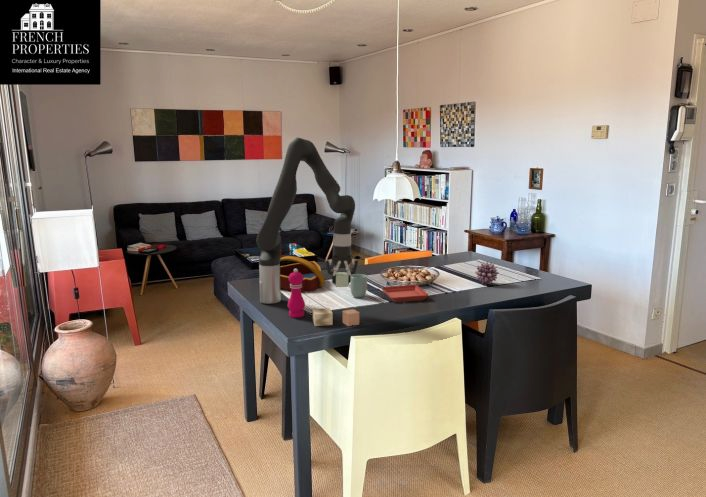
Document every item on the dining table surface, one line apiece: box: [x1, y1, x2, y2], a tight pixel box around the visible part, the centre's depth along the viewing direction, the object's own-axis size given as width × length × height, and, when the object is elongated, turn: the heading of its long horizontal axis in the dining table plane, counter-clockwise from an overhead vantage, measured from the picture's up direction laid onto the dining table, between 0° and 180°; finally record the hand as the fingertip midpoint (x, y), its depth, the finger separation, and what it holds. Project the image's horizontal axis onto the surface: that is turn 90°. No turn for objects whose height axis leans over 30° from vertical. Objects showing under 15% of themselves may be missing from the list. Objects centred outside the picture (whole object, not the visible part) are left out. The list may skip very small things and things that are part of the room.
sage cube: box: [334, 271, 349, 288], centre depth 223 cm, size 5×5×5 cm
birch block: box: [312, 307, 334, 327], centre depth 213 cm, size 7×7×5 cm
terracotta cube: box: [342, 308, 360, 327], centre depth 212 cm, size 5×5×5 cm
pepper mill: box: [287, 269, 306, 319], centre depth 221 cm, size 7×7×20 cm
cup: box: [349, 273, 368, 299], centre depth 250 cm, size 8×8×10 cm
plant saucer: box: [380, 284, 430, 303], centre depth 251 cm, size 18×18×3 cm
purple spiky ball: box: [474, 261, 500, 285], centre depth 273 cm, size 12×12×12 cm
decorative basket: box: [280, 255, 326, 293], centre depth 272 cm, size 34×29×15 cm
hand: (341, 283), depth 223 cm, fingers closed on sage cube, 5 cm apart
